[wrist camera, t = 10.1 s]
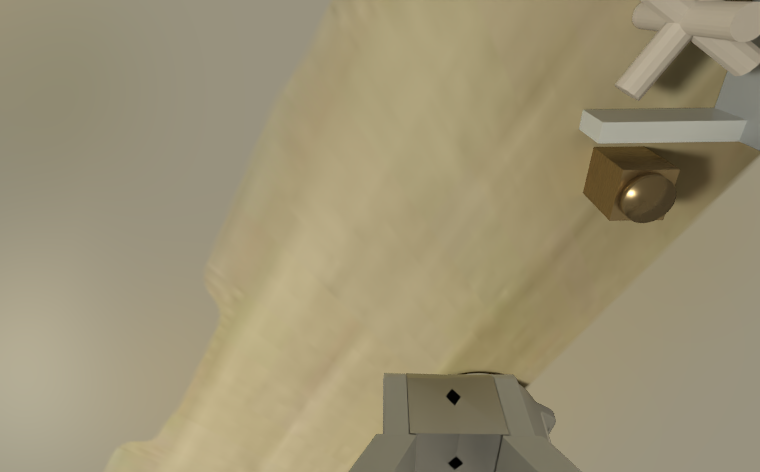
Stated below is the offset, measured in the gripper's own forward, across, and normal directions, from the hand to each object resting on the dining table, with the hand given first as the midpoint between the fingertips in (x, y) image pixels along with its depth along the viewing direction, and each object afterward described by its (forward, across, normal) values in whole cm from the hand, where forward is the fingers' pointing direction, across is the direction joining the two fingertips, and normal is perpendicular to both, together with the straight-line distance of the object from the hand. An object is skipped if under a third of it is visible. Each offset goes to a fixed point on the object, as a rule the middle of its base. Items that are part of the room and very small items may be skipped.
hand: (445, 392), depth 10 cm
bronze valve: (+28, -17, +5) cm, 33 cm away
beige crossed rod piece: (+27, -16, -7) cm, 33 cm away
